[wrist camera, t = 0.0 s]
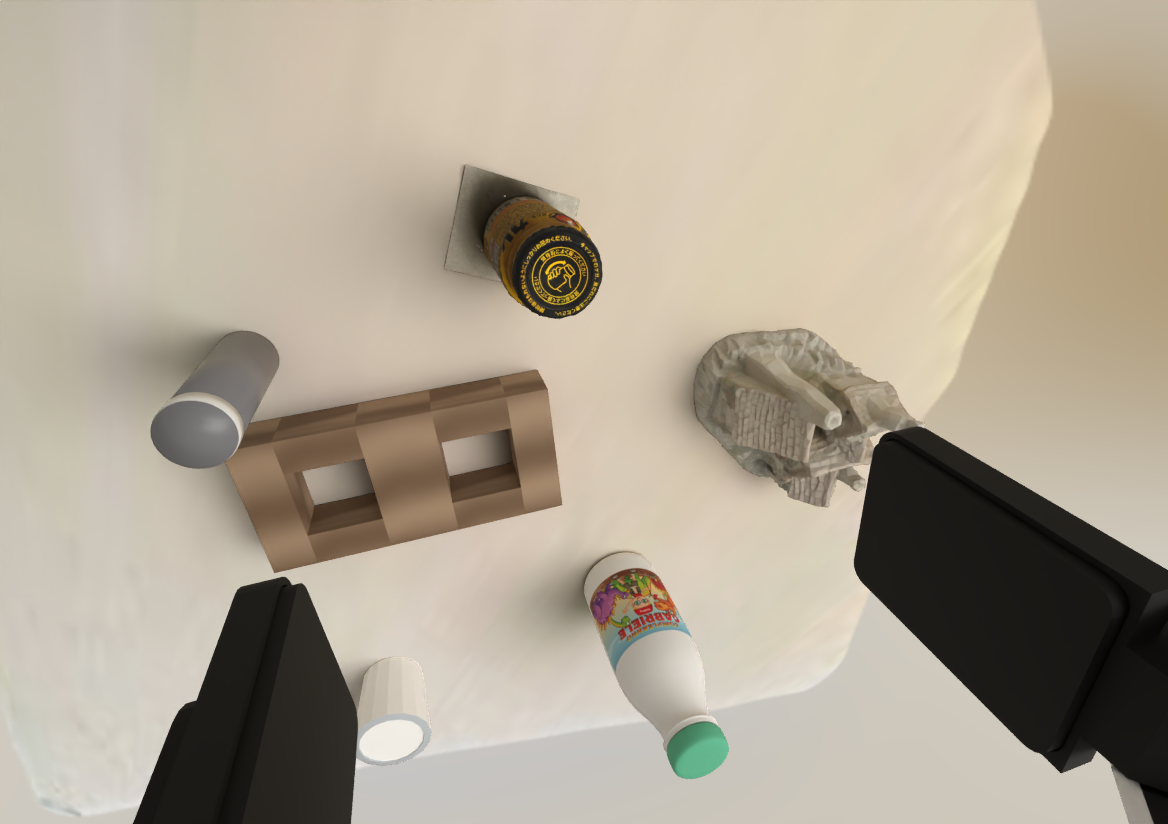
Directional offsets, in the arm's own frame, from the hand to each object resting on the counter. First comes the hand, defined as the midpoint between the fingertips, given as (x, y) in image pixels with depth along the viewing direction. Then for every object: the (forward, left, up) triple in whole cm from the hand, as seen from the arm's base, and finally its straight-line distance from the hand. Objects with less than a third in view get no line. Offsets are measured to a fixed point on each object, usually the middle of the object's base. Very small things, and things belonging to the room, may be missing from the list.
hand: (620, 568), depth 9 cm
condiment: (+1, +4, -37) cm, 37 cm away
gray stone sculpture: (+20, +26, -37) cm, 50 cm away
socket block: (+18, -7, -37) cm, 41 cm away
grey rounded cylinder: (+7, -16, -37) cm, 41 cm away
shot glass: (+42, -14, -37) cm, 58 cm away
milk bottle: (+37, +10, -37) cm, 53 cm away
